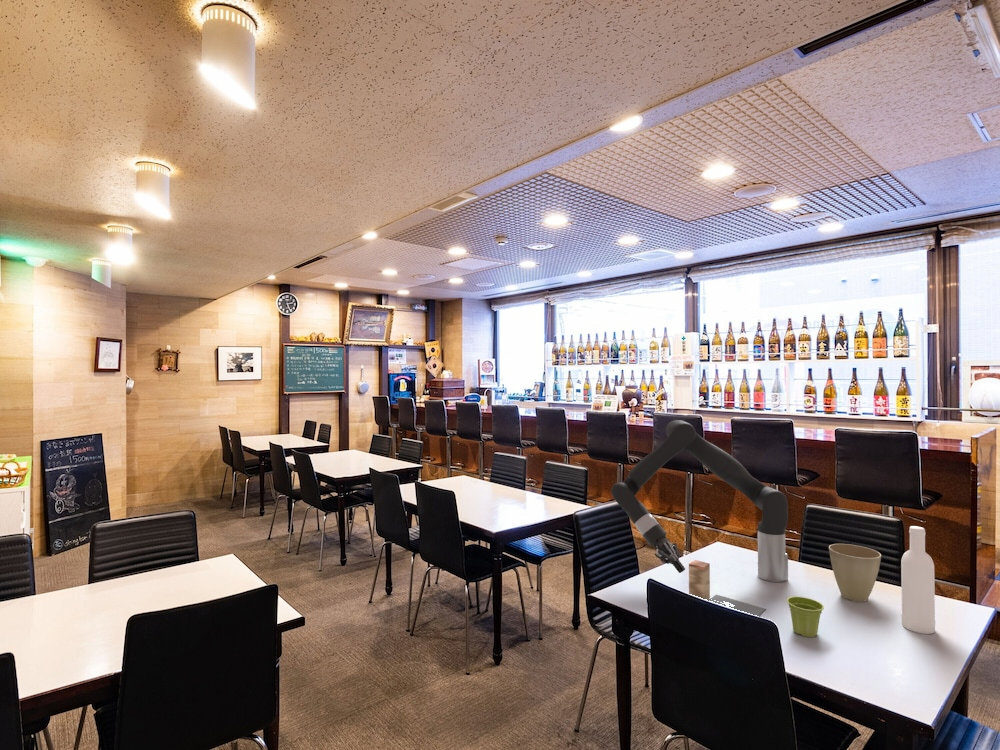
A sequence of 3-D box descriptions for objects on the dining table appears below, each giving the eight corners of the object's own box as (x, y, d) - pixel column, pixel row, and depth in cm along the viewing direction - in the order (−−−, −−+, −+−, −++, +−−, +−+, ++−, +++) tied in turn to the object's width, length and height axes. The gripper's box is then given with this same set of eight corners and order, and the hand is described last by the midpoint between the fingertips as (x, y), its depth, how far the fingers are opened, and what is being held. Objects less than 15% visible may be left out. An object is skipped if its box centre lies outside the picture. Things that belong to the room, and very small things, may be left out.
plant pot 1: (814, 625, 159) (813, 596, 159) (830, 641, 150) (830, 610, 150) (781, 624, 160) (781, 595, 160) (795, 639, 151) (795, 609, 151)
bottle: (926, 636, 152) (925, 532, 152) (896, 625, 159) (895, 526, 159) (940, 630, 156) (939, 528, 156) (910, 619, 163) (909, 522, 163)
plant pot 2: (863, 610, 169) (863, 560, 170) (819, 593, 183) (818, 547, 183) (892, 601, 176) (891, 554, 176) (846, 585, 189) (846, 541, 189)
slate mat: (699, 607, 172) (699, 606, 172) (716, 595, 182) (716, 594, 182) (751, 623, 161) (751, 622, 161) (765, 609, 170) (765, 608, 170)
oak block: (689, 598, 179) (688, 563, 179) (695, 594, 183) (695, 559, 183) (703, 603, 176) (703, 567, 176) (709, 598, 179) (709, 563, 179)
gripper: (647, 527, 185) (681, 570, 177) (665, 519, 195) (698, 560, 186) (634, 539, 189) (666, 582, 180) (652, 531, 199) (684, 571, 190)
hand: (682, 571), depth 183 cm, fingers closed
